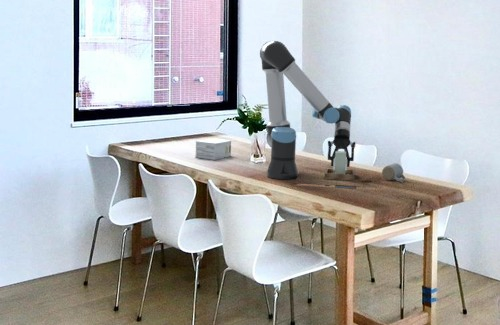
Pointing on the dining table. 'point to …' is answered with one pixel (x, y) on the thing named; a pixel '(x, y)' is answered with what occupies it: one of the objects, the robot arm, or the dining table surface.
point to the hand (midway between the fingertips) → (339, 171)
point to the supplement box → (213, 149)
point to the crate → (339, 175)
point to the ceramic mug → (393, 172)
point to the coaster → (344, 186)
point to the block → (340, 162)
